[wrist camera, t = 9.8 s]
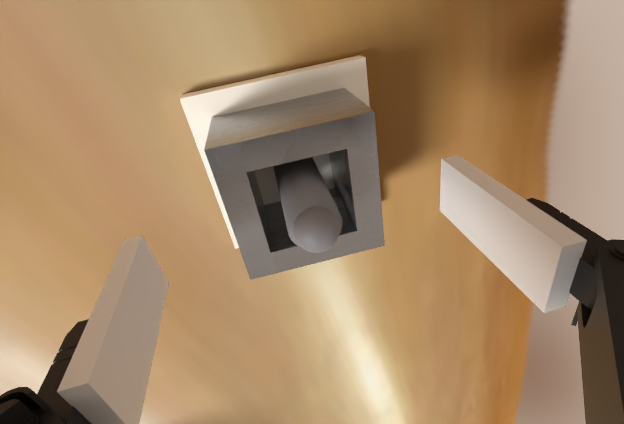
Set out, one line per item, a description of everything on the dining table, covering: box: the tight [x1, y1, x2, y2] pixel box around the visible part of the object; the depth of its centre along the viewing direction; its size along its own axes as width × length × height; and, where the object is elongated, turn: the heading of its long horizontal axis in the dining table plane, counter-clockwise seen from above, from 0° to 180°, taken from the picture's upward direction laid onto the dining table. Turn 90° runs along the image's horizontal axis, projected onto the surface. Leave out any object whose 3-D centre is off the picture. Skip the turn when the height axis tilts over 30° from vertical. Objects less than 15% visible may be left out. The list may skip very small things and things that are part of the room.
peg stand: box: [180, 55, 370, 253], centre depth 18 cm, size 10×10×9 cm
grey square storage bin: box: [204, 88, 384, 279], centre depth 19 cm, size 7×7×5 cm
